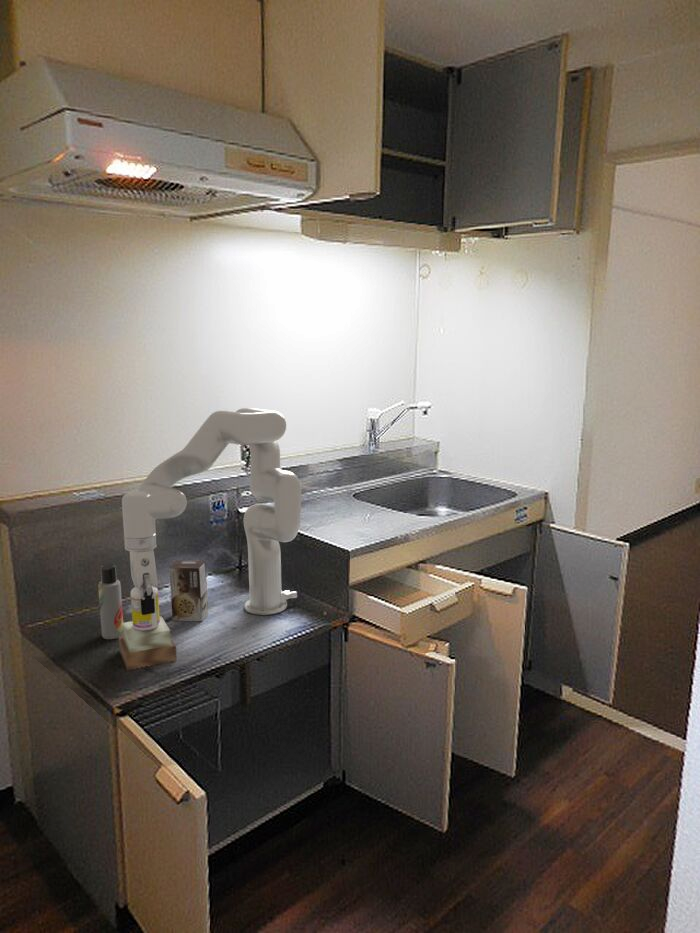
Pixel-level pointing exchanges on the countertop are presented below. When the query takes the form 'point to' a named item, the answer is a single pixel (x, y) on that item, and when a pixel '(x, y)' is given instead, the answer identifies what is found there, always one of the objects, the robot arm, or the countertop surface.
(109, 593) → the lotion bottle
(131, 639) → the cream slab tan edge
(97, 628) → the countertop surface
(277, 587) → the robot arm
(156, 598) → the supplement bottle
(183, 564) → the coffee box
